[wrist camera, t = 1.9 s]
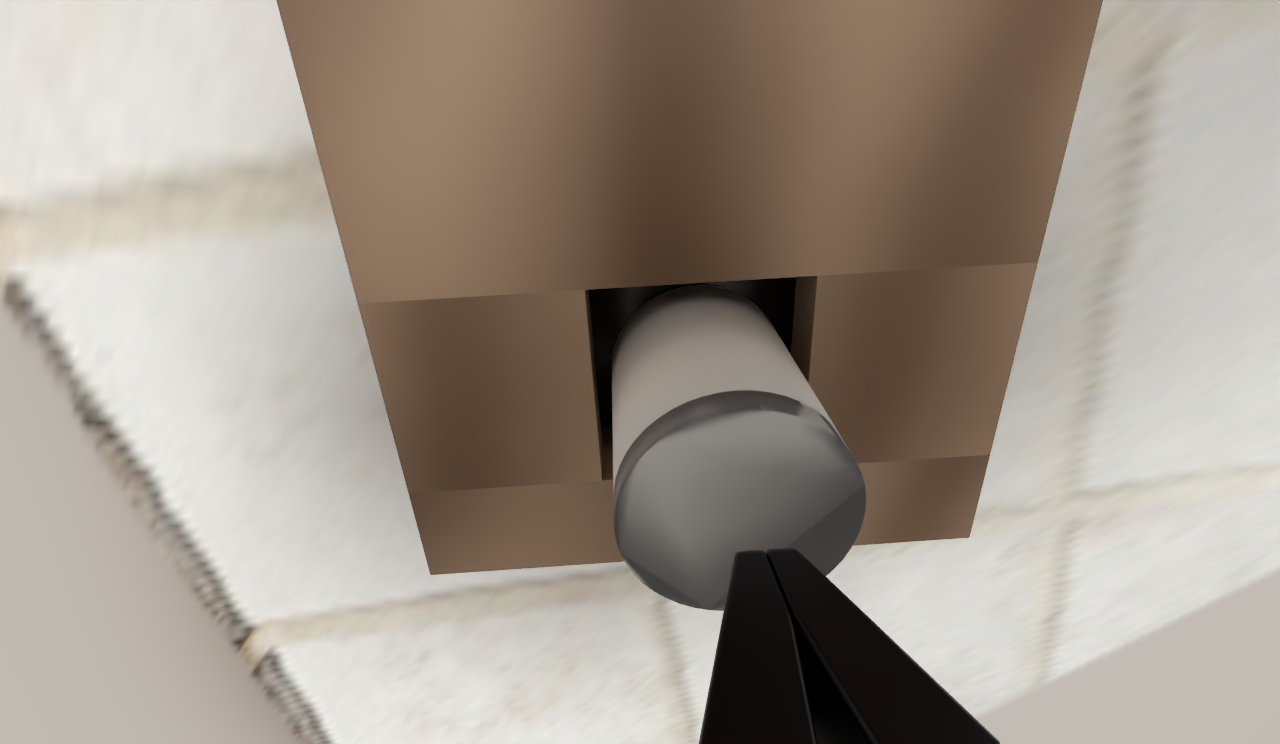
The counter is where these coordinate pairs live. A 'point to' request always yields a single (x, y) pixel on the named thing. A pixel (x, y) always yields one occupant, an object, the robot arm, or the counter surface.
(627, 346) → the plug
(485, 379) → the wooden holder block
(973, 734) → the robot arm
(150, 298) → the counter surface
